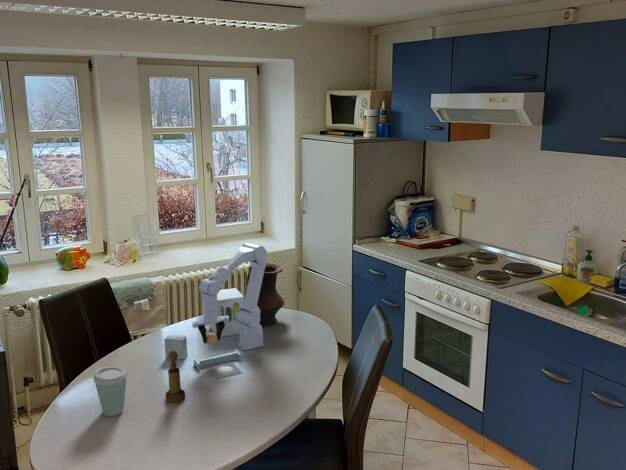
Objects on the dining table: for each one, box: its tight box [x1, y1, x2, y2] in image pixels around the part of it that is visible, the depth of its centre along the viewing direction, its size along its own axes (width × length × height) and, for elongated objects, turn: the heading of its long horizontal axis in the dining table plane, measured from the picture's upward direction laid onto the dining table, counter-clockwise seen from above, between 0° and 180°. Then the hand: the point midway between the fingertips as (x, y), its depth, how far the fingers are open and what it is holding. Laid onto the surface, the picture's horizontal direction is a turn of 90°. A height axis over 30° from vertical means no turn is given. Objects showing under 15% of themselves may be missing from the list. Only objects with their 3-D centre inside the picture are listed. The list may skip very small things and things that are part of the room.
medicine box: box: [163, 334, 188, 360], centre depth 236 cm, size 8×4×9 cm, turn 84°
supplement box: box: [209, 287, 245, 338], centre depth 262 cm, size 13×13×18 cm
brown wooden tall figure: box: [165, 351, 186, 405], centre depth 202 cm, size 7×6×18 cm
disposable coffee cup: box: [93, 365, 128, 417], centre depth 194 cm, size 11×11×15 cm
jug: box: [246, 262, 285, 327], centre depth 269 cm, size 21×18×30 cm
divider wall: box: [193, 349, 242, 371], centre depth 232 cm, size 18×5×2 cm, turn 119°
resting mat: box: [208, 362, 243, 380], centre depth 225 cm, size 10×10×1 cm
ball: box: [205, 331, 218, 346], centre depth 231 cm, size 5×5×5 cm
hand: (211, 341), depth 232 cm, fingers closed on ball, 5 cm apart
